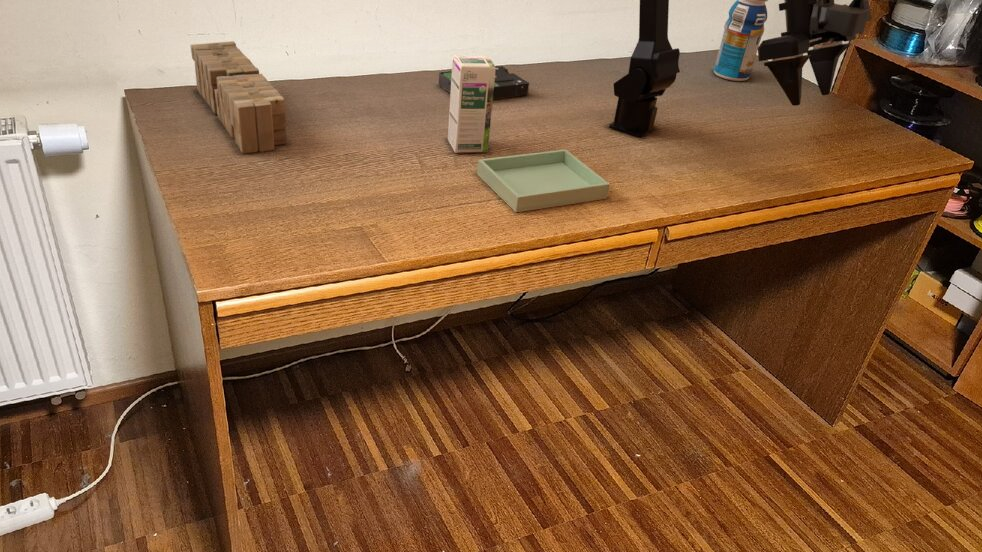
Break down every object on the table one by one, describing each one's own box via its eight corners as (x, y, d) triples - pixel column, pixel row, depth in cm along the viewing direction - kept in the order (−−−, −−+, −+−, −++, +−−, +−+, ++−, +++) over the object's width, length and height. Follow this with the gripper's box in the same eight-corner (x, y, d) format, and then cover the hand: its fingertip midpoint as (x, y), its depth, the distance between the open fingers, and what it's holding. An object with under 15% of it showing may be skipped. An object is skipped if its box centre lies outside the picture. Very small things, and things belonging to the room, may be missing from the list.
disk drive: (499, 79, 164) (437, 85, 157) (501, 65, 162) (438, 71, 155) (528, 96, 157) (464, 104, 150) (530, 82, 156) (465, 89, 148)
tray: (515, 212, 117) (517, 197, 116) (476, 174, 126) (478, 159, 125) (607, 198, 124) (610, 184, 122) (563, 163, 133) (566, 149, 132)
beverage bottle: (707, 68, 183) (731, -25, 171) (742, 70, 184) (769, -22, 172) (718, 80, 177) (744, -16, 165) (754, 83, 177) (783, -12, 166)
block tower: (290, 153, 128) (238, 84, 147) (288, 102, 123) (235, 37, 142) (240, 159, 124) (194, 87, 143) (236, 107, 119) (189, 40, 138)
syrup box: (454, 154, 132) (461, 65, 123) (446, 139, 136) (452, 53, 127) (488, 153, 133) (496, 66, 125) (478, 138, 138) (487, 53, 129)
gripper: (827, -15, 106) (834, 105, 110) (888, -27, 117) (892, 83, 121) (751, 1, 114) (760, 113, 119) (815, -11, 125) (821, 92, 130)
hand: (811, 99), depth 122 cm, fingers open, 9 cm apart
